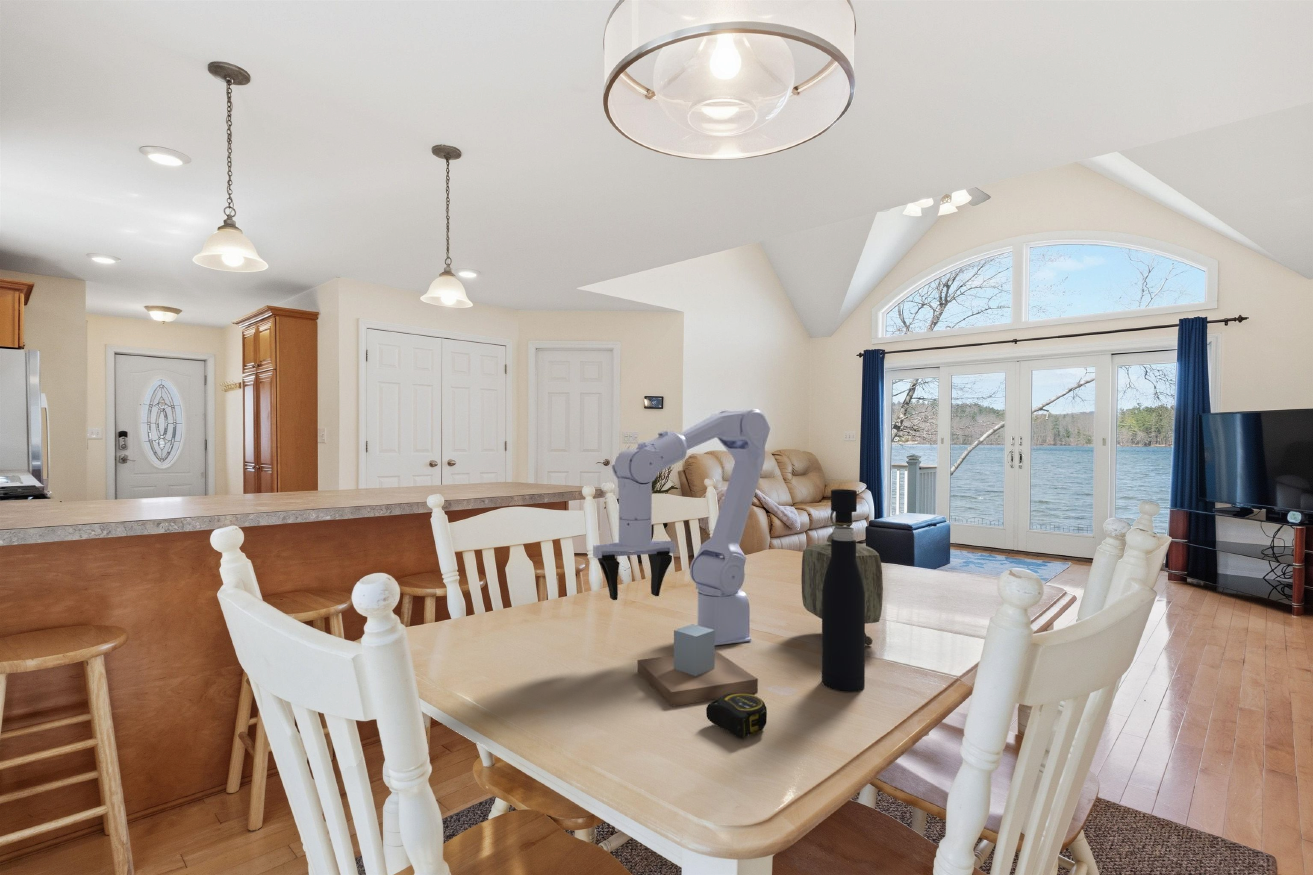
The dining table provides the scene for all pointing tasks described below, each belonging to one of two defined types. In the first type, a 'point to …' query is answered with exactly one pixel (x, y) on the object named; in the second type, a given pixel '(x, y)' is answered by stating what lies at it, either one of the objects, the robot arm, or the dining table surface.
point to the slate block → (694, 649)
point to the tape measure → (738, 714)
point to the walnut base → (695, 680)
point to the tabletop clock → (815, 570)
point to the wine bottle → (843, 603)
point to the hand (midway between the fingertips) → (634, 596)
